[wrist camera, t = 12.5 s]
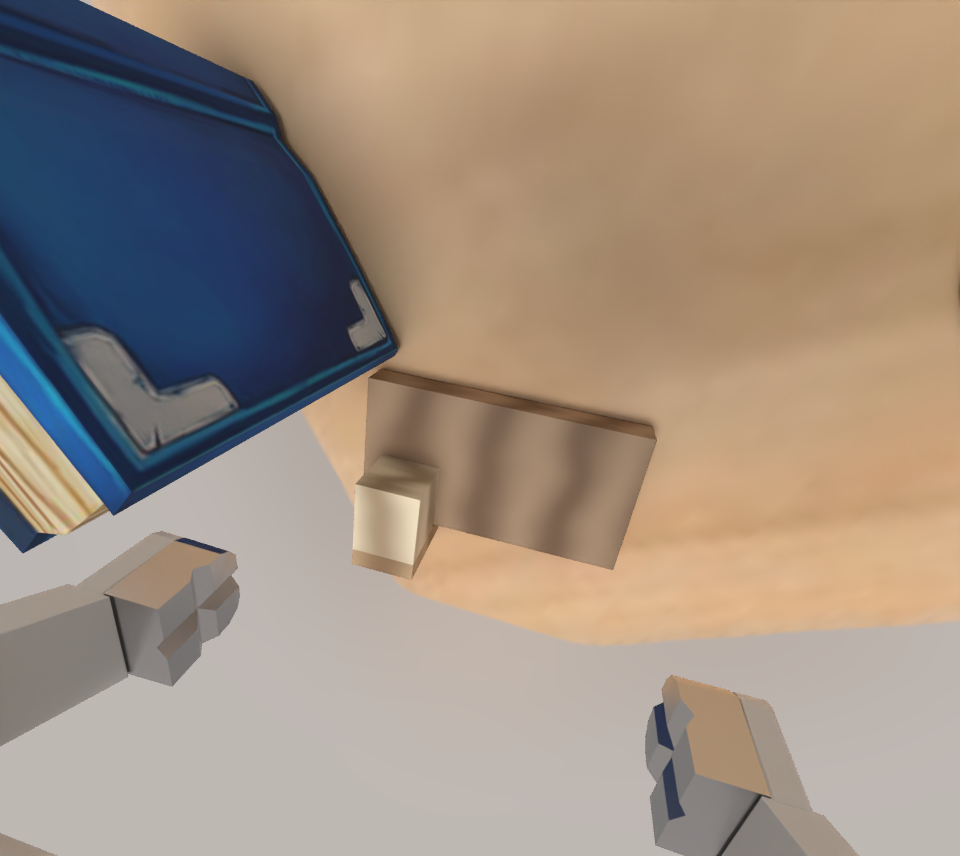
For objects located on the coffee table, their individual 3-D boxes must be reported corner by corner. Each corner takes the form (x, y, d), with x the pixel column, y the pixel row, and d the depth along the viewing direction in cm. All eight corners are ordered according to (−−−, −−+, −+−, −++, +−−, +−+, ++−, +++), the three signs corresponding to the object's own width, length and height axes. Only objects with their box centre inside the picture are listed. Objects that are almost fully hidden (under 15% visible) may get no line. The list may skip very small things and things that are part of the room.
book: (187, 116, 35) (-561, -86, 12) (258, 59, 32) (-516, -327, 10) (337, 381, 40) (19, 576, 18) (406, 350, 38) (138, 530, 16)
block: (447, 456, 41) (420, 500, 34) (438, 527, 44) (411, 580, 37) (392, 443, 41) (355, 484, 35) (386, 514, 44) (352, 563, 38)
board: (652, 426, 36) (656, 440, 34) (611, 551, 41) (612, 570, 39) (381, 369, 39) (368, 377, 37) (373, 491, 44) (362, 506, 42)
